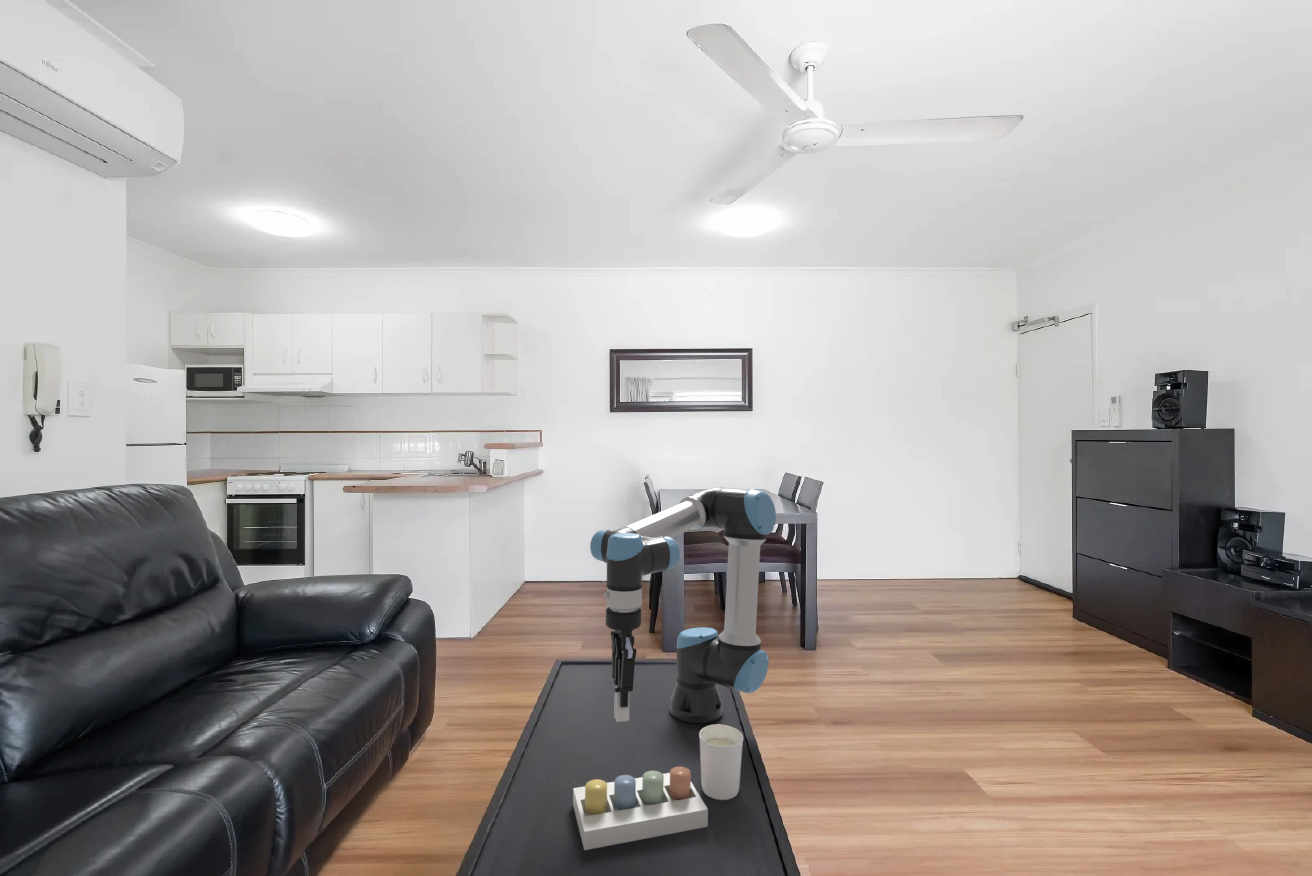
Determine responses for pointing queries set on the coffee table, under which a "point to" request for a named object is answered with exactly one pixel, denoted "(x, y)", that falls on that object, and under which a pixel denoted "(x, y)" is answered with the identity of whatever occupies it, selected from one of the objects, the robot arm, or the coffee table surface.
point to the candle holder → (720, 761)
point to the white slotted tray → (638, 817)
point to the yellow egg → (595, 797)
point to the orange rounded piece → (680, 783)
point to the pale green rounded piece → (652, 787)
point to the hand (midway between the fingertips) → (621, 718)
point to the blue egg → (624, 792)
